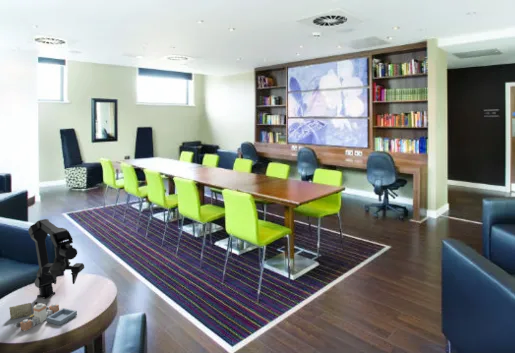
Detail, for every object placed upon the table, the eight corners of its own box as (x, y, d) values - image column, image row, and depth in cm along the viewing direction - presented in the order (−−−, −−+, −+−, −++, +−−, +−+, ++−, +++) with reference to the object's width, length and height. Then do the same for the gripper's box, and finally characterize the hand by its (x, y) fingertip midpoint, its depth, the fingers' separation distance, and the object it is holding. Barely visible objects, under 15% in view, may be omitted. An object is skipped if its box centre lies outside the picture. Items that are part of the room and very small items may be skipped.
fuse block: (16, 326, 169) (16, 321, 169) (47, 309, 184) (46, 305, 184) (27, 329, 167) (27, 324, 167) (57, 312, 182) (57, 307, 181)
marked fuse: (34, 321, 174) (32, 305, 173) (41, 317, 177) (39, 302, 176) (40, 322, 173) (38, 307, 171) (47, 318, 176) (45, 303, 175)
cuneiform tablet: (38, 315, 179) (9, 322, 174) (39, 313, 183) (10, 319, 178) (37, 301, 180) (8, 307, 174) (38, 299, 184) (9, 304, 178)
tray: (46, 322, 173) (46, 317, 173) (63, 312, 182) (63, 307, 182) (60, 325, 170) (60, 321, 170) (77, 315, 179) (76, 310, 179)
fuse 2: (49, 313, 181) (48, 305, 180) (54, 310, 184) (54, 302, 183) (54, 314, 180) (53, 306, 179) (59, 311, 183) (58, 303, 182)
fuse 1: (21, 329, 167) (20, 321, 166) (27, 326, 170) (26, 318, 169) (25, 330, 166) (24, 322, 165) (31, 327, 169) (30, 319, 168)
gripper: (33, 261, 173) (36, 291, 176) (72, 260, 173) (75, 291, 176) (46, 252, 184) (49, 281, 187) (83, 252, 184) (85, 281, 187)
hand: (64, 283), depth 184 cm, fingers open, 9 cm apart
